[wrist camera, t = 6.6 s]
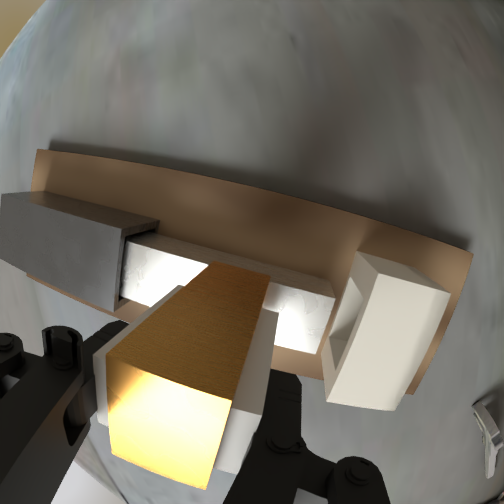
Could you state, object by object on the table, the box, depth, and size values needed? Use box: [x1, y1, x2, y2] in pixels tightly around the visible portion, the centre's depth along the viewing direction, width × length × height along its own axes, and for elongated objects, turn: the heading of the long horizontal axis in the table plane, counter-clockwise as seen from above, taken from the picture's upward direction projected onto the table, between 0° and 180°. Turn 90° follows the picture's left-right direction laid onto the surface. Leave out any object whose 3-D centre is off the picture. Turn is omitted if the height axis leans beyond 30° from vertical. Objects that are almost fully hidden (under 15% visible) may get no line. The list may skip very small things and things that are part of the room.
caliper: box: [472, 401, 504, 478], centre depth 19 cm, size 20×1×6 cm, turn 35°
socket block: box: [321, 251, 451, 411], centre depth 16 cm, size 8×4×6 cm, turn 167°
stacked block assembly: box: [106, 231, 336, 490], centre depth 13 cm, size 4×22×13 cm, turn 76°
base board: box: [27, 149, 474, 395], centre depth 21 cm, size 12×36×2 cm, turn 77°
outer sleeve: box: [0, 191, 160, 312], centre depth 19 cm, size 5×12×5 cm, turn 77°
